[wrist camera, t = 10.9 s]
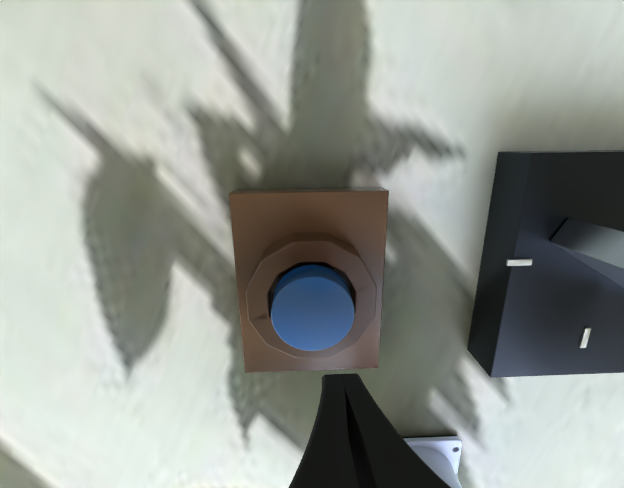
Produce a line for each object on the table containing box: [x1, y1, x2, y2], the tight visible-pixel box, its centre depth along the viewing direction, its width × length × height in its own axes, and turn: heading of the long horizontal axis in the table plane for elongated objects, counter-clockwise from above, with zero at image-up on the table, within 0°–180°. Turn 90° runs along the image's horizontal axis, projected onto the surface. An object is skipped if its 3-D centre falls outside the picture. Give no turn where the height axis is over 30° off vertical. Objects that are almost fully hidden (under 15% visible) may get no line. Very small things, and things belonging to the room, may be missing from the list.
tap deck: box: [467, 150, 624, 377], centre depth 20 cm, size 14×12×3 cm
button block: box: [229, 187, 389, 373], centre depth 19 cm, size 12×9×4 cm
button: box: [271, 265, 355, 351], centre depth 17 cm, size 4×4×2 cm
